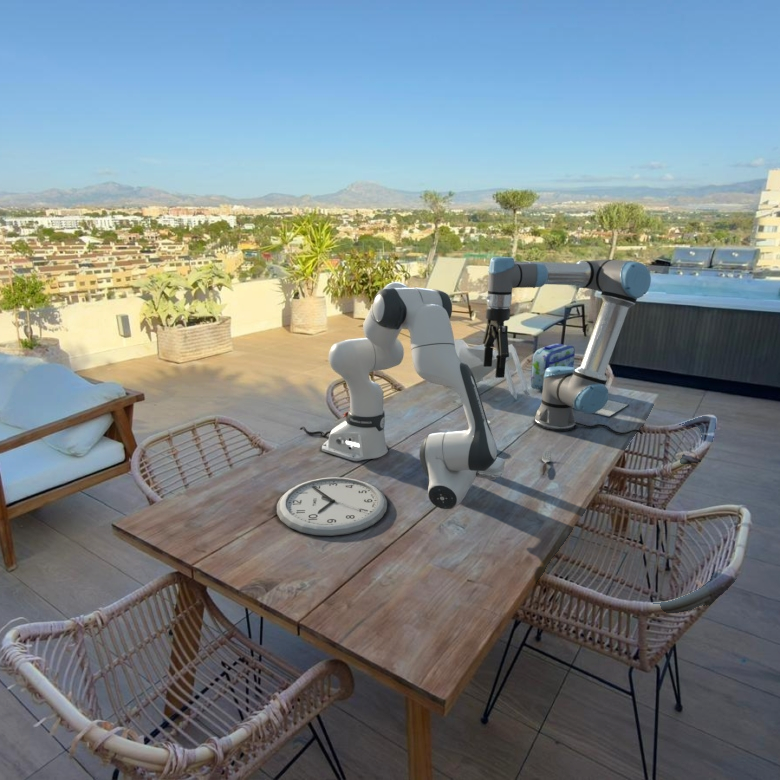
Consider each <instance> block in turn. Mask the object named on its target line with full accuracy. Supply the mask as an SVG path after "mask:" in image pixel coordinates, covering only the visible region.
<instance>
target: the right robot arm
mask: <svg viewBox="0 0 780 780" xmlns="http://www.w3.org/2000/svg"><path fill="white" fill-rule="evenodd" d="M651 283H652V277H651V273H650V270H649V268H648V266H646V265H645V264H644V263H642V262H639V261H634V260H623V259H622V260H620V259H607V258H606V259H596V260H579V261H578V262H575V263H574V262H573V263H572V262H549V261H548V262H546V261H520V260H519V261H518V260H515V258H514V257H511V256H494V257H492V258H491V259H490V261H489V267H488V281H487V296H485V300H486V306H487V307H486V308H485V309H486V310H485V319H486V327H485V332H484V335H483V340H482V345H483V344H484V347H486V348H485V351H484V365H483V366H484V367H492V356H493V350H494V347H495V345H496V350H497V352H498V355H497V356H496V358H497V362H496V369H495V373H494V374H495V375H494V376H495V378H496V379H498V378H499V379H500V378H505V363H506V358H507V357H509V348H508V345H509V337H508V336H509V335H508V332H509V331H508V329H509V327H508V325H505V322H506V321H507V322H508V321H509V320H510V317H511V306H512V297H513V289H516V288H517V289H519V288H521V289H522V288H524V289H525V288H527V289H528V288H529V289H531V288H533V289H536V288H541V287H543V286H545V285H557V286H559V285H561V286H575V287H576V288H578V289H588V290H593V291H597V292H600V298H601V300H602V304H601V307H600V309H599V313H598V315H597V319H596V321H595V324H594V326H593V328H592V332H591V334H590V337H589V341H588V344H587V345H586V349H585V351H584V355H583V357H582V361H581V363H580V366H578V367H577V368H576V367H574V366H573V367H565V366H556V367H549V368H547V369H546V370H545V374H544V381H543V390H541V391H542V394H541V402H540V405H539V407H538V409H537V411H536V413H535V416H534V424H535V425H536V426H537V427H539V428H542V429H544V430H549V431H556V432H567V431H572V430H574V429H575V428H576V425H577V426H581V427H584V428H588V429H589V428H590V429H591V428H595V427H603V428H606V429H608V430H609V431H611V433H614V434H617V435H628V434H631V433H634V432H637V433H638V434H640V435H643V434H644V433H643V431H642V430H640V429H636V428H635V429H631V430H628V431H617V430H615V429H613V428H612V427H611V426H609V425H607V424H603V423H596V424H592V425H591V424H590V425H589V424H585V423H582V422H577V421H576V418H575V417H576V416H575V413H574V409H575V410H576V411H577V412H581V413H584V414H587V415H590V414H591V415H593V414H596V413H595V412H597V411H598V410H601V409H602V408H603V407H604V406H605V404H606V403H607V401H608V400H609V397H610V393H609V389H608V387H607V386H606V384H607V381H608V378H607V376H606V371H607V368H608V366H609V363H610V360H611V357H612V355H613V352H614V349H615V346H616V344H617V341H618V338H619V335H620V333H621V330H622V327H623V325H624V322H625V320H626V316H627V314H628V311H629V309H630V308H632V307H633V306H635V305H636V303H637V300H638V299H640V298H642V297H644V295H646V294H647V293H648V291H649V290H650V287H651ZM494 342H495V343H494Z"/></svg>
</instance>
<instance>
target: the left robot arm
mask: <svg viewBox="0 0 780 780" xmlns="http://www.w3.org/2000/svg"><path fill="white" fill-rule="evenodd" d="M452 313H453V303H452V300H451V298H450V296H449V294H448V293H447V292H445V291H442V290H439V289H436V288H434V289H430V288H424V287H423V288H422V287H409V286H407V285H406V284H404V283H402V282H398V281H397V282H396V281H395V282H390V283H388V284H386V285H385V286H383V288H382V289H379V290H378V291H377V293H376V294H375V296H374V298H373V300H372V304H371V306H370V308H369V311H368V313H367V315H366V317H365V319H364V321H363V324H362V331H363V334H364V335H365V337H360V338H350V339H345V340H342V341H338V342H335V343H333V345H332V346H331V347H330V349H329V351H328V363H329V366H330V368H331V369H332V370H333V371H334V372H335V373H336V374H338V375H339V376H340V377H341V378H342V379H343V380H344V381H345V383H346V385H347V388H348V393H349V409H348V410H346V411H345V413H343V414H342V415H343V416H342V418H345V419H344V420H343V421H341V422H340V423H339V424H337V425H336V426H335V427H333V428H332V429H330V430H327V431H325V433H324V432H323V431H320V430H318V431H317V430H316V431H308V429H307V428H306V427H305V426H301V427H299V430H301V431H304V433H306V434H308V435H318V434H319V435H321V436H322V437H327V435H328V439H327V440H325V442H323V443H322V445H321V451H322V452H324V453H327V454H330V455H334V456H336V457H340V458H343V459H346V460H349V461H352V462H360V461H363V460H371V459H378V458H381V457H383V456H385V455H386V454H388V451H389V449H388V445H387V443H386V442H387V441H386V437H385V423H386V418H385V417H386V415H385V413H386V412H385V410H384V395H385V394H384V390H383V388H382V385H380V384H379V383H377V382H375V381H373V380H371V379H370V372H378V371H385V370H390V369H391V368H394V367H398V366H399V365H400V364H401V363H402V362H403V359H404V356H405V349H404V345H403V343H402V342H401V340H400V339H399V336H400V334H401V332H402V330H408V332H409V334H410V335H409V338H410V351H411V361H412V366H413V369H414V371H415V372H416V374H417V375H418V377H420V378H421V379H423V380H424V381H427V382H429V383H432V384H435V385H439V386H442V387H447V388H450V389H452V390H453V391H455V392H456V393H457V394H458V395H459V397H460V399H461V403H462V407H463V410H464V414H465V417H466V421H467V424H468V428H467V429H464V430H454V431H442V432H441V431H439V432H433V433H428V434H427V435H426V436H425V437H424V439H423V441H422V443H421V446H420V449H419V462H420V465H421V469H422V471H423V472H424V474H425V475H426V477H427V478H428V489H427V496H428V499H429V501H430V503H431V504H432V505H434V506H435V507H436V508H438V509H442V510H451V509H454V508H456V507H458V506H459V505H460V504H461V503H462V502H463V500H464V498H466V496H467V494H468V492H469V489H470V488H471V487H472V485H473V484H474V482H475V480H476V478H482V479H486V480H496V479H500V478H501V476H502V474H503V473H504V470H505V462H506V461H505V459H504V458H502V457H498V448H497V444H496V440H495V438H494V436H493V434H492V429H491V430H490V427H489V425H488V422H487V420H488V419H487V418H488V417H487V414H486V411H485V408H484V404H483V402H482V398H481V394H480V391H479V388H478V385H477V383H476V381H475V379H474V376H473V373H472V371H471V369H470V368H469V366H468V365H467V364H464V363H462V362H461V361H460V359H459V358H458V356H457V353H456V350H455V343H454V339H455V337H454V331H453V326H452V324H451V318H452Z"/></svg>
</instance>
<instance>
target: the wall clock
mask: <svg viewBox="0 0 780 780" xmlns="http://www.w3.org/2000/svg"><path fill="white" fill-rule="evenodd" d="M387 509H388V500H387V498H386V496H385V494H384V493H383V492H382V491H381V490H380V489H379V488H377V487H376V486H374V485H372V484H371V483H369V482H365V481H362V480H359V479H355V478H349V477H338V476H337V477H335V476H333V477H332V476H331V477H322V478H317V479H312V480H307V481H305V482H302V483H299V484H297V485H295V486H293V487H292V488H290V489H288V490H287V491H286V492H285V493H284V494H283V495H281V496H280V498H279V499H278V502H277V503H276V515H277V517H278V518H279V520H280V521H281V522H282V523H283V524H285V525H286V526H287V527H288V528H290V529H293V530H295V531H297V532H299V533H303V534H308V535H312V536H327V537H328V536H329V537H331V536H332V537H333V536H342V535H350V534H352V533H356V532H361V531H363V530H366V529H368V528H369V527H372V526H373V525H375V524H376V523H378V522H379V521H380V520H381V519H382V518H383V517H384V516H385V514H386V512H387Z"/></svg>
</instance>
